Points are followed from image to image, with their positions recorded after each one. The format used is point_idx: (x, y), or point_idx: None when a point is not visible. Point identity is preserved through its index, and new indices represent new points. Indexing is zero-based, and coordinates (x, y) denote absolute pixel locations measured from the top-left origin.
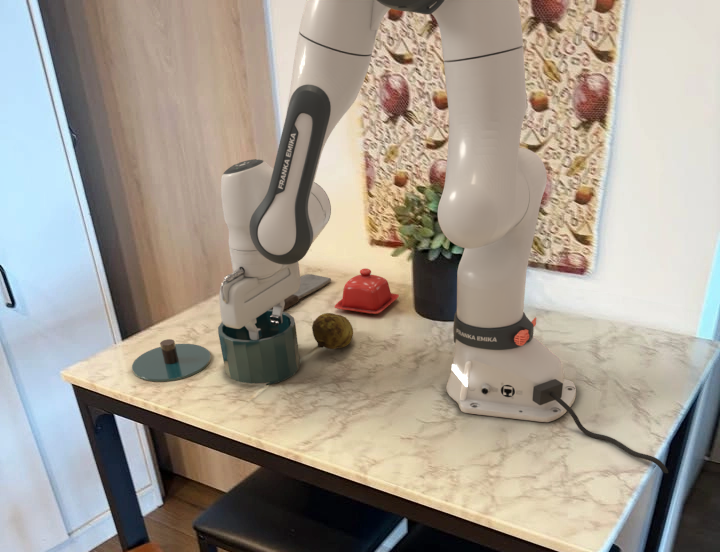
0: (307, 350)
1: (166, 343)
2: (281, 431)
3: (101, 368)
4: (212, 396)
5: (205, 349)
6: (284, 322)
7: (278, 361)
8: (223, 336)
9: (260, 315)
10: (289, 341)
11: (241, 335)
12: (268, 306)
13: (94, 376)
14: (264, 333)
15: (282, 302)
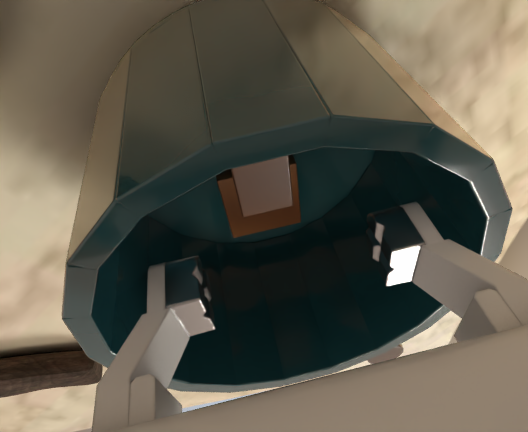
0: (9, 129)
1: (391, 353)
2: None
3: (414, 343)
4: (486, 126)
5: None
6: (100, 275)
7: (342, 38)
8: None
9: None
10: (253, 83)
11: (246, 303)
12: (384, 402)
13: (443, 331)
14: None
15: (122, 405)
